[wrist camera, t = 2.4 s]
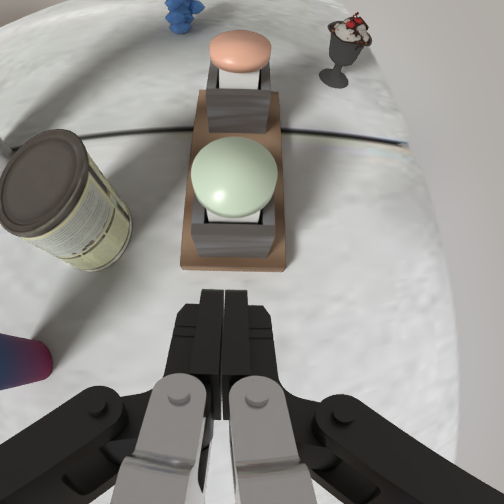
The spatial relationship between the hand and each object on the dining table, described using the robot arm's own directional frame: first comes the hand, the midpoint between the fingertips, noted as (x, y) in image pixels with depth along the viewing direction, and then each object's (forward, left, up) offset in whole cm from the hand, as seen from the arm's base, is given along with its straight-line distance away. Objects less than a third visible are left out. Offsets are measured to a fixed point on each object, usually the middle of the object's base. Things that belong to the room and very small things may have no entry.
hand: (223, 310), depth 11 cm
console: (-6, +18, -23) cm, 30 cm away
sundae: (+1, +41, -23) cm, 47 cm away
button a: (-4, +10, -17) cm, 20 cm away
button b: (-9, +25, -17) cm, 32 cm away
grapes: (-27, +44, -23) cm, 57 cm away
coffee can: (-20, +4, -23) cm, 30 cm away
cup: (-21, -14, -23) cm, 34 cm away
